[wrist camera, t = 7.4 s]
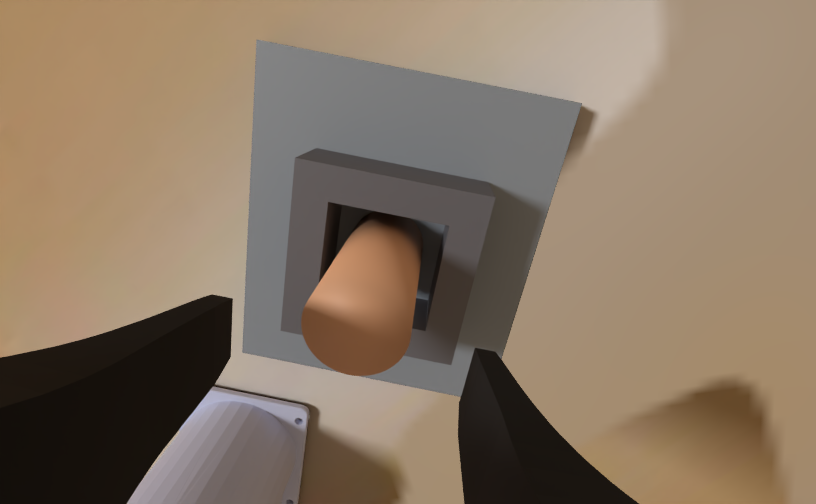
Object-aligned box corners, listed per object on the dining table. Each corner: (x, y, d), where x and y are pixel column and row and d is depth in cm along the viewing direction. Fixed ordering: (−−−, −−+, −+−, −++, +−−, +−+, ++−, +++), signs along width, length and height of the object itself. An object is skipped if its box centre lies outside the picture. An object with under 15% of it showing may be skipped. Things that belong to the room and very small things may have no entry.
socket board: (486, 390, 25) (493, 444, 21) (250, 342, 25) (215, 387, 21) (575, 102, 19) (607, 105, 15) (265, 41, 19) (222, 30, 15)
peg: (415, 283, 21) (399, 385, 14) (347, 268, 21) (296, 363, 14) (429, 217, 20) (421, 292, 13) (358, 202, 20) (307, 268, 13)
